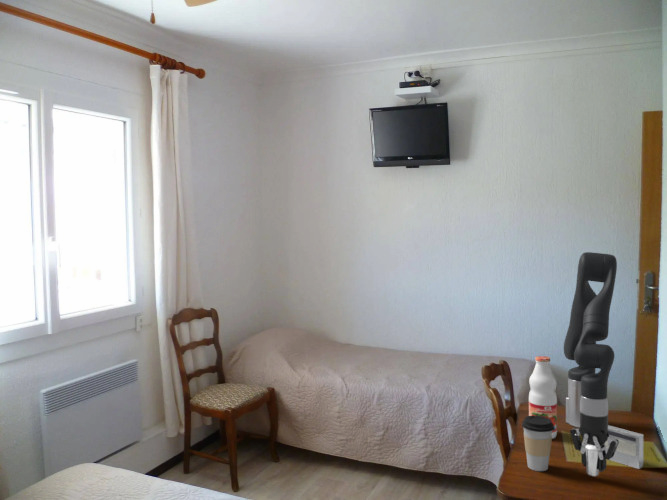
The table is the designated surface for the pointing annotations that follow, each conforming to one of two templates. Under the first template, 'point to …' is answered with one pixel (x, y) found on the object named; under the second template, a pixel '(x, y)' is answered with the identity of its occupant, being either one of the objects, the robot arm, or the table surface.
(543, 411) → the fruit juice
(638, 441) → the panel
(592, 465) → the milkshake
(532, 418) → the coffee cup
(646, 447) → the table surface
